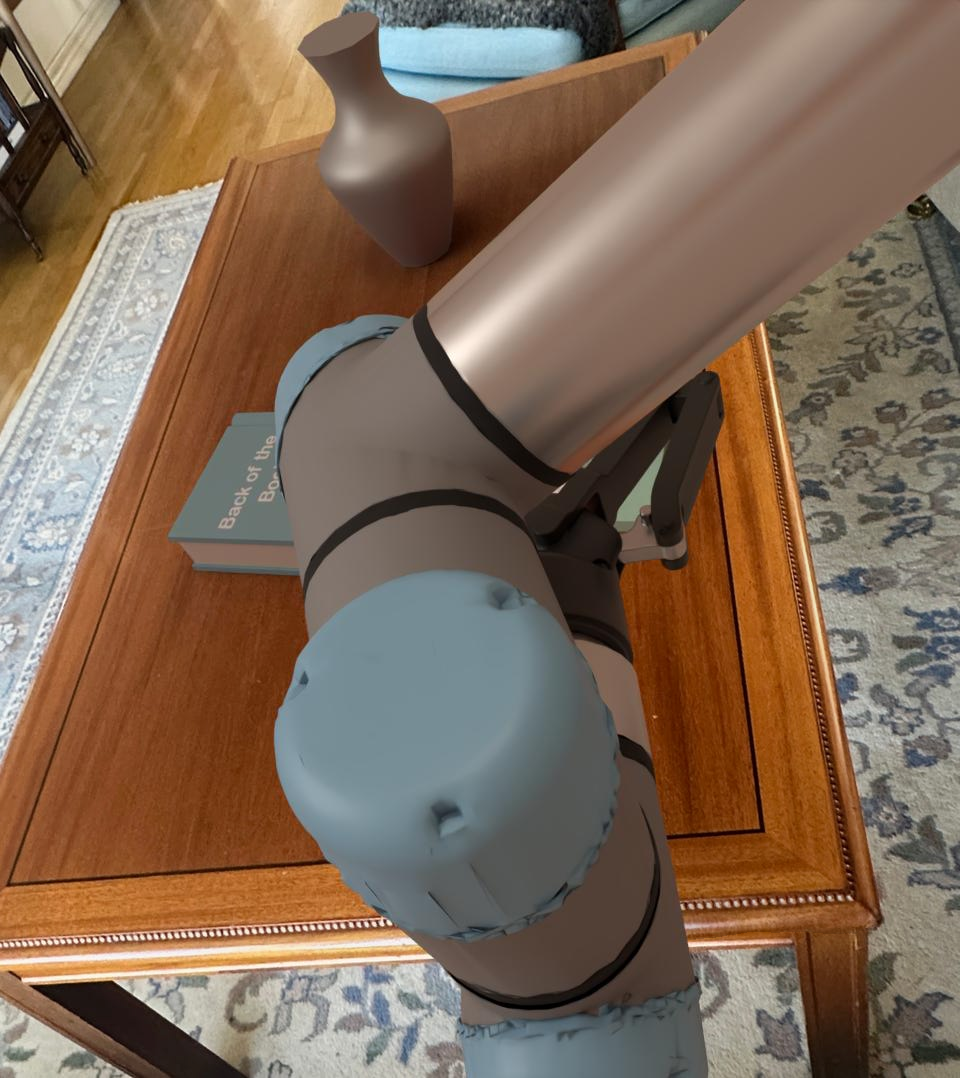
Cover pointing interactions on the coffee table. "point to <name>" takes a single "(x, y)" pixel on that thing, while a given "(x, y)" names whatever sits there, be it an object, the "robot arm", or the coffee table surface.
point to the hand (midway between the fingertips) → (503, 348)
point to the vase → (382, 145)
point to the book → (239, 505)
